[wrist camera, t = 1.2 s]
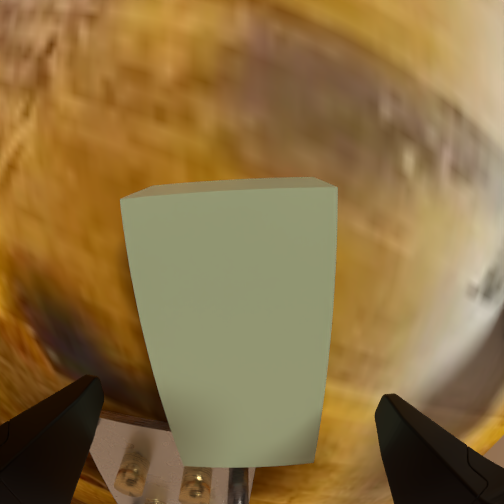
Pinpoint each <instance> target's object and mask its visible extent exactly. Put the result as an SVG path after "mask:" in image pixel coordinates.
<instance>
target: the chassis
mask: <svg viewBox="0 0 504 504" xmlns="http://www.w3.org/2000/svg"><path fill="white" fill-rule="evenodd" d="M89 451H90V453H91V455H92V458H93V460H94V462H95V464H96V466H97V468H98V470H99V471H100V473H101V475H102V477H103V479H104V481H105V483H106V485H107V486H108V488H109V490H110V492H111V493H112V495H113V497H114V499H115V500H116V502H117V504H249V499H250V494H251V489H252V484H253V479H254V473H255V468H256V467H241V468H221V467H193V466H184V465H183V463H182V460H181V457H180V455H179V452H178V449H177V446H176V444H175V441H174V438H173V435H172V432H171V429H170V426H169V423H168V422H163V421H156V420H150V419H145V418H139V417H134V416H129V415H124V414H119V413H114V412H110V411H106V410H101V413H100V417H99V421H98V425H97V428H96V432H95V436H94V439H93V442H92V445H91V448H90V450H89Z"/></svg>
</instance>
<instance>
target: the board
mask: <svg viewBox="0 0 504 504" xmlns="http://www.w3.org/2000/svg"><path fill="white" fill-rule="evenodd" d="M337 202H338V187H336V186H334V185H331V184H329V183H326V182H324V181H322V180H319V179H317V178H314V177H291V178H259V179H237V180H219V181H204V182H190V183H178V184H166V185H155V186H151V187H149V188H146V189H143V190H141V191H139V192H136V193H134V194H131V195H129V196H126V197H124V198H122V199H120V205H121V213H122V221H123V228H124V235H125V242H126V248H127V255H128V261H129V267H130V272H131V278H132V283H133V288H134V294H135V298H136V303H137V308H138V313H139V317H140V322H141V326H142V331H143V335H144V339H145V343H146V347H147V351H148V355H149V359H150V363H151V366H152V370H153V374H154V377H155V381H156V384H157V388H158V391H159V395H160V398H161V401H162V404H163V408H164V411H165V414H166V417H167V420H168V423H169V426H170V429H171V432H172V435H173V438H174V441H175V444H176V446H177V449H178V452H179V455H180V457H181V460H182V463H183V465H184V466H193V467H221V468H241V467H270V466H285V465H296V464H306V463H314V458H315V452H316V446H317V440H318V434H319V428H320V421H321V414H322V407H323V400H324V393H325V385H326V377H327V368H328V359H329V349H330V339H331V328H332V316H333V302H334V287H335V269H336V246H337Z"/></svg>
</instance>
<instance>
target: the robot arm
mask: <svg viewBox="0 0 504 504" xmlns="http://www.w3.org/2000/svg"><path fill="white" fill-rule="evenodd" d="M103 402H104V394H103V390H102V386H101V382H100V379H99V378H98V377H97V376H93V375H85V376H83V377H81V378H80V379H78V380H76V381H75V382H73V383H71V384H70V385H68V386H66V387H65V388H63V389H61V390H60V391H58V392H56V393H55V394H53V395H51V396H50V397H48V398H46V399H45V400H43V401H41V402H39V403H38V404H36V405H34V406H33V407H31V408H29V409H28V410H26V411H24V412H22V413H21V414H19V415H17V416H16V417H14V418H12V419H10V420H9V421H7V422H5V423H3V424H2V425H0V504H70V503H71V500H72V497H73V494H74V491H75V488H76V485H77V483H78V480H79V477H80V474H81V471H82V469H83V466H84V463H85V461H86V458H87V455H88V453H89V450H90V448H91V445H92V442H93V439H94V436H95V432H96V428H97V425H98V421H99V417H100V413H101V410H102V406H103ZM375 422H376V428H377V433H378V439H379V446H380V452H381V456H382V460H383V464H384V468H385V471H386V475H387V478H388V482H389V486H390V490H391V493H392V497H393V501H394V504H504V468H502V467H500V466H499V465H497V464H495V463H493V462H492V461H490V460H488V459H486V458H485V457H483V456H482V455H480V454H479V453H477V452H476V451H474V450H473V449H472V448H470V447H467V445H466V444H464V443H463V442H461V441H460V440H459V439H457V438H456V437H454V436H453V435H452V434H450V433H449V432H447V431H446V430H445V429H443V428H442V427H440V426H439V425H438V424H436V423H435V422H434V421H432V420H431V419H429V418H428V417H427V416H425V415H424V414H422V413H421V412H420V411H418V410H417V409H416V408H414V407H413V406H412V405H410V404H409V403H407V402H406V401H405V400H403V399H402V398H401V397H399V396H398V395H396V394H385V395H383V396H382V398H381V400H380V402H379V405H378V407H377V409H376V412H375Z"/></svg>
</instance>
